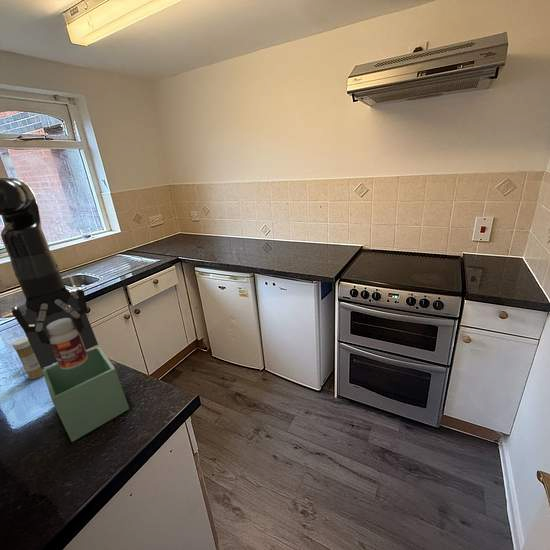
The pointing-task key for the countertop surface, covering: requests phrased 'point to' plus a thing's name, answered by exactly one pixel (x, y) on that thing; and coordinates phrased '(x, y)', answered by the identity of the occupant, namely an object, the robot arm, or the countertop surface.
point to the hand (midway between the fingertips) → (64, 336)
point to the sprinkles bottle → (28, 358)
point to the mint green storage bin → (86, 393)
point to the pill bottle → (66, 343)
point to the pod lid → (41, 349)
